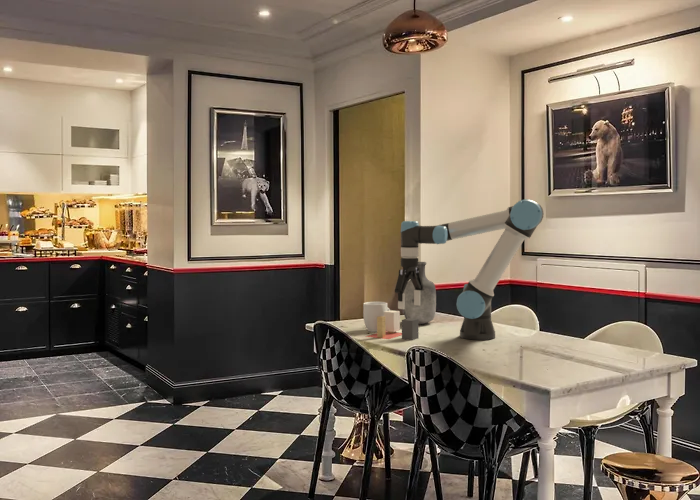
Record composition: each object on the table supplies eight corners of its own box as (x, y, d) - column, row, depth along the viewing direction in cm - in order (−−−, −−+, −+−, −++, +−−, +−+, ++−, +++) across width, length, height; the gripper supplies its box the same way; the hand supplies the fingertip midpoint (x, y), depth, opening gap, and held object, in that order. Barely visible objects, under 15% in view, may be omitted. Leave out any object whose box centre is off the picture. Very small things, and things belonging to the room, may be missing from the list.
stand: (408, 334, 304) (408, 311, 303) (388, 340, 290) (388, 316, 290) (385, 331, 311) (385, 309, 310) (365, 337, 297) (365, 314, 297)
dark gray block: (418, 339, 292) (418, 319, 291) (412, 341, 288) (412, 320, 287) (407, 337, 295) (407, 318, 294) (401, 339, 291) (401, 319, 290)
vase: (398, 321, 338) (397, 261, 337) (428, 320, 343) (427, 260, 341) (410, 327, 323) (410, 263, 321) (441, 324, 328) (441, 262, 326)
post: (385, 337, 295) (385, 316, 295) (382, 338, 293) (382, 317, 293) (380, 336, 297) (380, 316, 296) (377, 337, 295) (377, 316, 294)
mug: (382, 327, 322) (382, 300, 321) (398, 330, 314) (398, 302, 313) (358, 331, 313) (358, 303, 312) (374, 334, 304) (374, 305, 303)
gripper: (416, 255, 302) (416, 303, 303) (386, 258, 281) (386, 309, 283) (431, 256, 297) (431, 304, 299) (402, 259, 277) (402, 311, 278)
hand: (409, 307), depth 291 cm, fingers open, 13 cm apart
